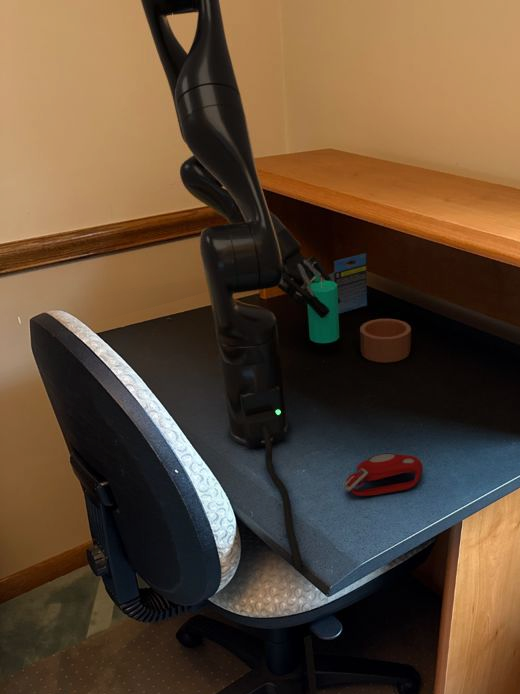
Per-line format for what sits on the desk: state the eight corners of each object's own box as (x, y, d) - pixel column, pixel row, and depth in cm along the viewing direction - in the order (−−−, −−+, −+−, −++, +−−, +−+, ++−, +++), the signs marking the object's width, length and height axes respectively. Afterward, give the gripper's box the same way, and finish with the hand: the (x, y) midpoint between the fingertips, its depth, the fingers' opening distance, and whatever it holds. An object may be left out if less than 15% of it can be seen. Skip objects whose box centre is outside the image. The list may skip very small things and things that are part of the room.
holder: (418, 356, 133) (419, 333, 130) (373, 366, 130) (372, 342, 127) (396, 338, 140) (397, 315, 137) (353, 346, 137) (352, 323, 134)
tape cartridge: (357, 301, 158) (356, 248, 150) (367, 306, 155) (367, 252, 148) (326, 310, 153) (323, 256, 146) (336, 315, 151) (334, 260, 144)
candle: (341, 331, 135) (338, 272, 128) (337, 343, 130) (334, 283, 123) (311, 330, 136) (308, 272, 129) (307, 343, 131) (302, 282, 124)
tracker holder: (363, 449, 104) (425, 444, 100) (368, 476, 105) (429, 472, 101) (335, 476, 93) (403, 472, 89) (341, 506, 94) (408, 503, 91)
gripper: (263, 238, 118) (329, 311, 121) (299, 218, 129) (358, 286, 132) (241, 265, 123) (304, 335, 126) (277, 243, 134) (334, 308, 137)
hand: (331, 309), depth 129 cm, fingers closed on candle, 4 cm apart
